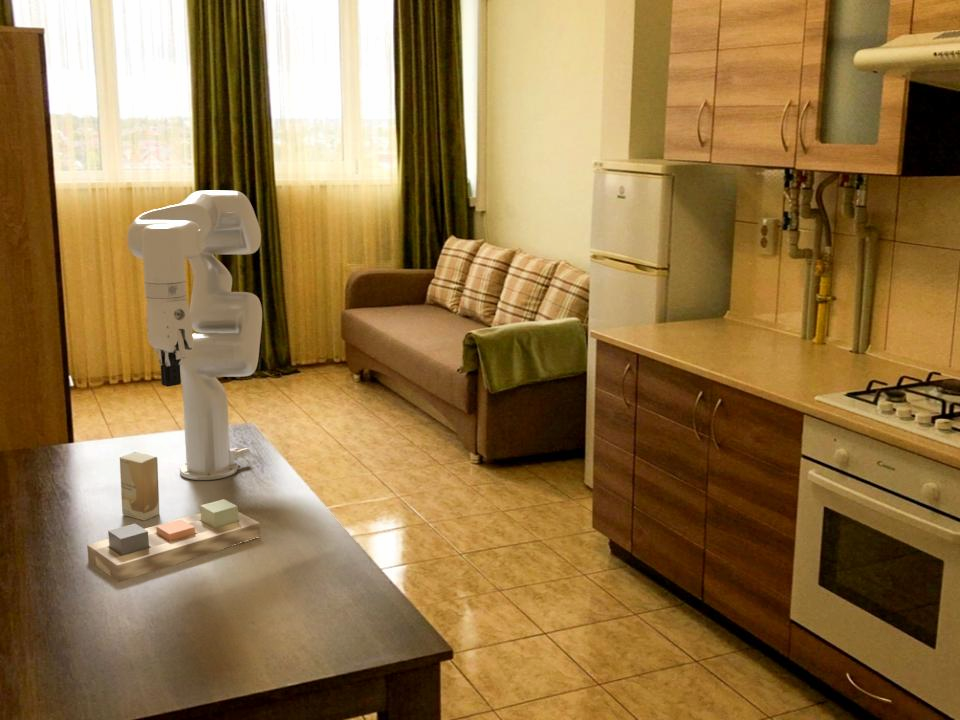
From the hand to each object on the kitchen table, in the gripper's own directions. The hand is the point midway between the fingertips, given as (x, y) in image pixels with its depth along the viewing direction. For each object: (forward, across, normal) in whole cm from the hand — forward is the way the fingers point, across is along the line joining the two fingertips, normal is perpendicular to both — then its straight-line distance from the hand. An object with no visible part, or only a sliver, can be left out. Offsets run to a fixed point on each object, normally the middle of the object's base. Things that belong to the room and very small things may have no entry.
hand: (171, 384), depth 197 cm
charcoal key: (+25, -14, +17) cm, 33 cm away
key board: (+27, -14, +8) cm, 32 cm away
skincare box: (+27, +6, +5) cm, 28 cm away
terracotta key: (+27, -14, +8) cm, 31 cm away
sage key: (+25, -14, -1) cm, 29 cm away
